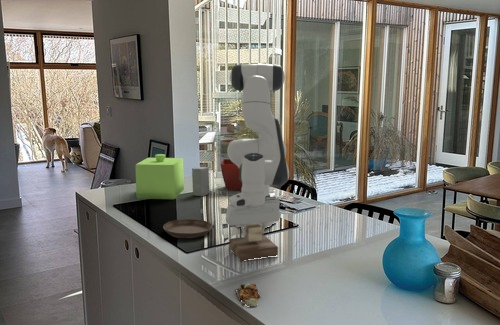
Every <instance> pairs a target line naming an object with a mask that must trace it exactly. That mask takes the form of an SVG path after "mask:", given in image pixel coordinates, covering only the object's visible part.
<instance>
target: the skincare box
mask: <svg viewBox="0 0 500 325" xmlns="http://www.w3.org/2000/svg"><path fill="white" fill-rule="evenodd" d="M191 171H192V172H191V178H192V196H198V197H204V196H206V195H209V194H210V172H209V171H210V169H209V167H207V166H198V167H194V168H192V169H191Z"/></svg>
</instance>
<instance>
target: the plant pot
mask: <svg viewBox="0 0 500 325" xmlns="http://www.w3.org/2000/svg"><path fill="white" fill-rule="evenodd" d="M220 170H221V174H222V180H223V183H224V186H225V190H226V191H241V189H242V181H241V180H240V179H239V168H238V166H237V165H236V164H234V163H233V162H232V161H231V160H230V159H229V158H224V159H222V161H221V162H220Z"/></svg>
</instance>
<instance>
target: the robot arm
mask: <svg viewBox="0 0 500 325" xmlns="http://www.w3.org/2000/svg"><path fill="white" fill-rule="evenodd" d="M285 79H286V74H285V71H284V68H283V66H281V65H280V64H276V63H273V64H271V63H259V62H258V63H248V64H242V63H241V64H240V63H239V64H235V65H234V66H233V67H232V68H231V70H230V74H229V82H230V85H231V87H232V88H233V89H234V90H235V91H239V92H241V93H242V96H241V114H242V118H243V120H244V125H245V127H247V128H248V129H249V130H251V131H252V132H256V134H257V135H258V137H257V138H238V139H235V140H231V141H230V143H229V144H228V146H227V149H226V153H227V157H228V159H230V160H231V161H232V162H233V163H234V164H236V165H237V166H238V168H239V179H240V180H241V181H242V189H241V190H240V191H241V192H239V193H237V194H234V195H232V196H229V197H228V203H229V204H228V205H227V206H226V207H227V208H226V213H225V223H226V224H227V225H228V226H231V227H233V226H235V227H236V228H239V227H241V228H240V229H241V231H242V236H243V237H245V236H248V231H247V230H245V224H255V223H258V224H259V225H260V226H261V227H262V235H264V234H265V230H266V229H265V228H266V227H267V226H270V225H271V224H273V223H274V222H276V223H277V222H279V220H280V219H281V212H280V204H281V202H280V198H278V197H277V196H271V194H270V186H273V187H275V186H276V187H282V186H283V185H285V184H286V183H287V182H289V177H290V169H289V165H288V162H287V160H286V155H287V147H286V144H285V142H284V140H283V134H282V130H281V125H280V121H279V119H278V118H277V117H275V116H274V114H273V112H272V108H271V91H272V93H273V94H274V93H275V92H276V91H278V90H280V89H282V88H283V85H284V84H285ZM243 227H244V228H243Z"/></svg>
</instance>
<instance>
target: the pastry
mask: <svg viewBox="0 0 500 325" xmlns="http://www.w3.org/2000/svg"><path fill="white" fill-rule="evenodd" d="M235 290H237V293H236V295H237V297H238V301H239V300H242V302H241V305H242V306H243V305H245V304H246V305H247V306H251V307H256V305H257V304H258V305H259V301H258V300H259V298H260V297H261V295H260V293H259V292H258V288H257V284H256V283H253V284H250V283H239V285H238V286H237V288H236V289H234V290H233V292H234V291H235ZM258 293H259V294H258ZM251 307H250V308H251Z"/></svg>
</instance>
